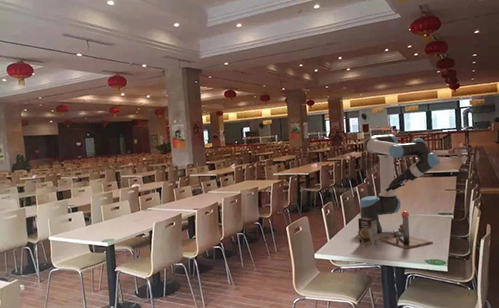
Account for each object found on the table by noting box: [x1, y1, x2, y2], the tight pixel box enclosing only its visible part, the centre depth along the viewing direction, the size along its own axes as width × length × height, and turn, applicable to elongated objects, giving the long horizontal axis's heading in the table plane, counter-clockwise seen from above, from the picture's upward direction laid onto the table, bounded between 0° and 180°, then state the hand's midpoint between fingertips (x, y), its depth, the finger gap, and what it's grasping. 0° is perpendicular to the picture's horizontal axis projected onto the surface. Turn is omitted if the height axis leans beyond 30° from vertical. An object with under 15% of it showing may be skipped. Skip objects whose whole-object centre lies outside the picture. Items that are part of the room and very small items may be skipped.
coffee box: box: [357, 217, 379, 248], centre depth 249 cm, size 9×6×16 cm
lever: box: [392, 211, 410, 244], centre depth 250 cm, size 21×4×19 cm, turn 179°
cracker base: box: [377, 223, 433, 250], centre depth 251 cm, size 20×24×8 cm
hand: (382, 192), depth 254 cm, fingers closed
